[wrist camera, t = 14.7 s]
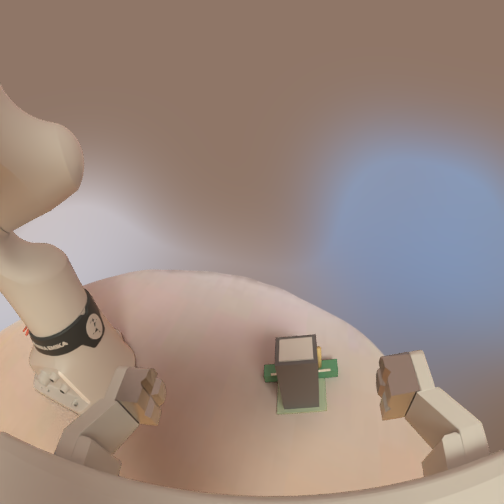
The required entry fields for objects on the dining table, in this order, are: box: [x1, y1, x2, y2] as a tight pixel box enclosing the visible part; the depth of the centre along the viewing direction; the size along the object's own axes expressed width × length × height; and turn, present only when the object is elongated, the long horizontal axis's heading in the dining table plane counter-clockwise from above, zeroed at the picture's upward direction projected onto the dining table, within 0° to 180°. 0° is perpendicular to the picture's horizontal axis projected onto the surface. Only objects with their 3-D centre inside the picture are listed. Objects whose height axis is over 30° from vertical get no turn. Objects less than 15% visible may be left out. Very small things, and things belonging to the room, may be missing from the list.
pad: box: [277, 378, 327, 414], centre depth 38 cm, size 6×5×1 cm
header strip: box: [264, 346, 338, 382], centre depth 39 cm, size 10×2×6 cm, turn 85°
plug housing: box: [275, 334, 319, 409], centre depth 35 cm, size 4×4×10 cm
